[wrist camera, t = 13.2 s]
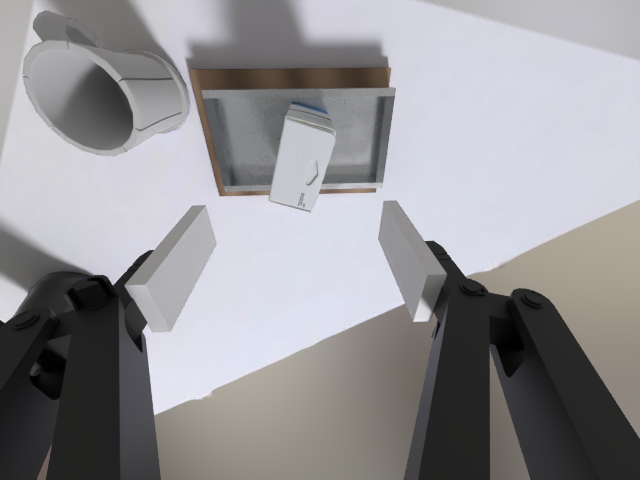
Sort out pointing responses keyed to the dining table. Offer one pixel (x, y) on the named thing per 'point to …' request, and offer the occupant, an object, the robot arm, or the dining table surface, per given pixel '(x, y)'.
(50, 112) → the cup
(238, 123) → the metal serving tray
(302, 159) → the ink box
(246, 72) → the panel
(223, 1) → the dining table surface
